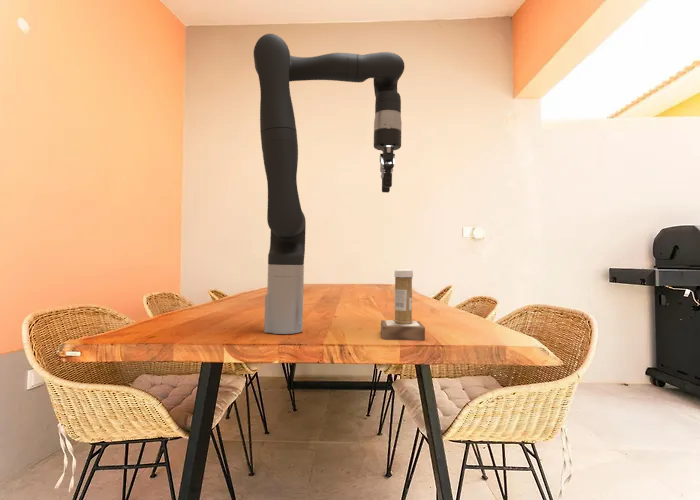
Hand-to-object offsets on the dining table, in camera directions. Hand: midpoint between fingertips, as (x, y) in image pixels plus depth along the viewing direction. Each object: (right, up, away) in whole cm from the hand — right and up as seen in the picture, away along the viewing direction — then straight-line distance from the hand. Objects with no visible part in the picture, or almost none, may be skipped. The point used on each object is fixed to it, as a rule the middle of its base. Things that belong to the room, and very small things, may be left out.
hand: (386, 189), depth 112 cm
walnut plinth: (+3, -38, -9) cm, 39 cm away
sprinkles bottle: (+3, -35, -9) cm, 36 cm away
